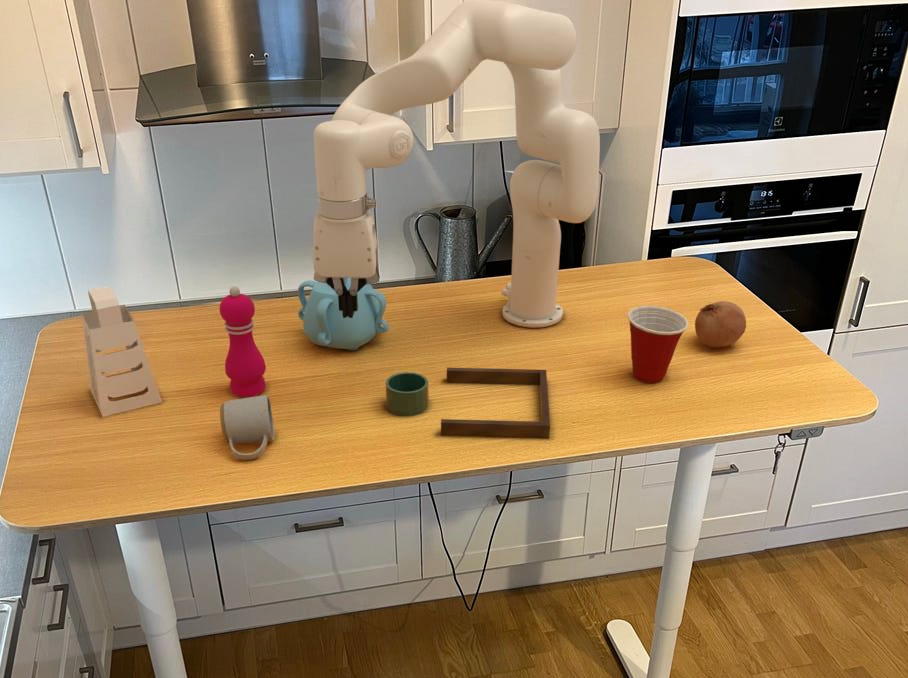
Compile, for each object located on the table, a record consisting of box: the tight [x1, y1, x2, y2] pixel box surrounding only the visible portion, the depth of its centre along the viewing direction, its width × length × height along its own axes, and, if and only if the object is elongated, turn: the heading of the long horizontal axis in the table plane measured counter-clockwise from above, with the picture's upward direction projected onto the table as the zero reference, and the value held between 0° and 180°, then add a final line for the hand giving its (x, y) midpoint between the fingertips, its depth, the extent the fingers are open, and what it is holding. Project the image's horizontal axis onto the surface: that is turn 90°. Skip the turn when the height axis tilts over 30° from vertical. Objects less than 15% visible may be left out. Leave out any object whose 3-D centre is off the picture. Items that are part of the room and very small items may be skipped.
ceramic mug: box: [219, 394, 275, 461], centre depth 152 cm, size 11×8×8 cm
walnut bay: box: [440, 367, 551, 439], centre depth 163 cm, size 18×19×2 cm
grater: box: [81, 285, 163, 418], centre depth 162 cm, size 10×10×20 cm
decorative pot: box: [297, 278, 390, 351], centre depth 182 cm, size 16×16×14 cm
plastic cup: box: [627, 305, 689, 384], centre depth 168 cm, size 11×11×12 cm
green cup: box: [384, 371, 430, 417], centre depth 163 cm, size 7×7×5 cm
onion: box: [694, 300, 747, 349], centre depth 180 cm, size 10×9×10 cm
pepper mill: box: [219, 286, 267, 398], centre depth 164 cm, size 7×7×20 cm
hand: (348, 314), depth 155 cm, fingers closed
